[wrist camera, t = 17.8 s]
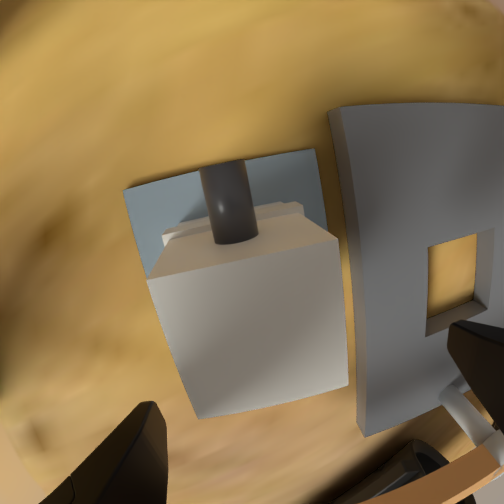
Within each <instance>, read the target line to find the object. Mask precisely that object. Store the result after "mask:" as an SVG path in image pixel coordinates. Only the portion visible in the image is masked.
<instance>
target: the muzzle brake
mask: <svg viewBox="0 0 504 504" xmlns="http://www.w3.org/2000/svg"><path fill="white" fill-rule="evenodd" d="M447 464H449V461H448V460H447V459H446V458H445V457H443V456H442V455H441V454H440V453H439V452H438V451H437V450H435V449H434V448H433V447H431V446H430V445H428V444H427V443H425V442H423V441H420V440H412V441H411V442H410V443H409V444H407V445H406V446H405V447H404V448H403V449H402V450H401V451H399V452H398V453H397V454H396V455H395V456H394V457H392V458H391V459H390V460H389V461H387V462H386V463H385V464H384V465H382V466H381V467H380V468H379V469H377V470H376V471H375V472H373V473H372V474H371V475H369V476H368V477H367V478H365V479H364V480H363V481H361V482H360V483H358V484H357V485H356V486H354V487H353V488H351V489H350V490H348V491H347V492H345V493H344V494H343V495H341V496H340V497H338V498H337V499H335V500H333V501H332V502H330V503H329V504H358V503H361V502H364V501H366V500H369V499H372V498H375V497H377V496H380V495H383V494H385V493H388V492H390V491H392V490H395V489H397V488H400V487H402V486H404V485H407V484H409V483H411V482H413V481H415V480H417V479H420V478H422V477H424V476H426V475H428V474H430V473H432V472H434V471H436V470H438V469H440V468H442V467H443V466H445V465H447ZM455 504H476V502H475V499H474V496H473V494H470V495H469V496H467V497H465V498H464V499H462V500H460V501H459V502H457V503H455Z"/></svg>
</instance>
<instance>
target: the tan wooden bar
mask: <svg viewBox="0 0 504 504" xmlns="http://www.w3.org/2000/svg"><path fill="white" fill-rule="evenodd" d="M503 474H504V435H503V433H502V432H501V430H500V429H499V430H497V431H496V432H494V433H493V434H492V435H491V436H490V437H489V438H488V439H487V440H486V441H485V442H484V443H483V444H481V445H480V446H478V447H476V448H475V449H473V450H472V451H470V452H468V453H467V454H465V455H463V456H461V457H460V458H458V459H456V460H454V461H453V462H451V463H449V464H447V465H445V466H443V467H442V468H440V469H438V470H436V471H434V472H432V473H430V474H428V475H426V476H424V477H422V478H420V479H417V480H415V481H413V482H411V483H409V484H407V485H404V486H402V487H400V488H397V489H395V490H392V491H390V492H388V493H385V494H383V495H380V496H377V497H375V498H372V499H369V500H366V501H364V502H361V503H358V504H455V503H457V502H459V501H460V500H462V499H464V498H465V497H467V496H469V495H470V494H472V493H473V492H475V491H477V490H478V489H480V488H481V487H483V486H484V485H486V484H487V483H489V482H490V481H493V480H495V479H497V478H499V477H500V476H501V475H503Z"/></svg>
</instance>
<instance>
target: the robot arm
mask: <svg viewBox="0 0 504 504" xmlns="http://www.w3.org/2000/svg"><path fill="white" fill-rule="evenodd" d="M447 350H448V352H449V354H450V356H451V357H452V359H453V360H454V362H455V364H456V365H457V367H458V369H459V370H460V372H461V374H462V375H463V377H464V379H465V380H466V382H467V384H468V385H469V387H470V388H471V390H472V391H473V392H474V394H475V395H476V396H477V398H478V399H479V401H480V402H481V403H482V405H483V406H484V407H485V409H486V410H487V412H488V413H489V414H490V416H491V417H492V419H493V420H494V424H493V426H492V427H493V428H494V429H495V430H496V431H497V430H499V429H500V430H501V432H502V433H503V435H504V328H501V327H496V326H491V325H486V324H482V323H477V322H472V321H468V320H463V319H459V320H457V321H455V322H452V323H451V324H450V326H449V330H448V338H447ZM167 484H168V452H167V427H166V422H165V420H164V418H163V416H162V414H161V412H160V410H159V408H158V406H157V404H156V403H155V402H154V401H145V402H141V403H139V404H138V405H137V406H136V407H135V408H134V409H133V410H132V412H131V413H130V414H129V415H128V416H127V417H126V418H125V419H124V420H123V421H122V422H121V423H120V424H119V425H118V426H117V427H116V428H115V429H114V430H113V431H112V432H111V433H110V434H109V435H108V437H107V438H106V439H105V440H104V441H103V442H102V443H101V444H100V445H99V446H98V447H97V448H96V449H95V450H94V451H93V452H92V453H91V454H90V455H89V456H88V457H87V458H86V459H85V460H84V461H83V462H82V463H81V464H80V465H79V466H78V467H77V468H76V469H75V470H74V471H73V472H72V473H71V475H70V476H68V477H67V478H66V479H65V480H64V481H63V482H62V483H61V484H60V485H59V486H58V487H57V488H56V489H55V490H54V491H53V492H52V493H51V494H50V495H48V496H47V497H46V498H45V499H44V500H43V501H41V502H40V503H39V504H166V500H167Z"/></svg>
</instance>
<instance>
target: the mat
mask: <svg viewBox="0 0 504 504" xmlns="http://www.w3.org/2000/svg"><path fill="white" fill-rule="evenodd" d="M245 165H246V170H247V175H248V180H249V185H250V190H251V195H252V201H253V206H254V207H255V206H259V205H264V204H269V203H274V202H280V201H281V202H282V203H289V202H295V201H296V202H298V203H300V204H302V205H303V209H304V215H305V217H306V218H307V219H309V220H310V221H312V222H314V223H315V224H317V225H318V226H320V227H321V228H323V229H324V230H326V231H327V232H328V227H327V220H326V213H325V207H324V200H323V194H322V188H321V181H320V176H319V170H318V164H317V158H316V153H315V148H314V149H307V150H301V151H295V152H289V153H283V154H277V155H272V156H267V157H261V158H256V159H251V160H246V161H245ZM123 194H124V198H125V202H126V206H127V210H128V214H129V218H130V222H131V225H132V229H133V233H134V236H135V240H136V244H137V247H138V250H139V254H140V257H141V261H142V264H143V267H144V271H145V274H146V277H147V278H148V276H149V274H150V273H151V271H152V269H153V267H154V265H155V264H156V262H157V260H158V258H159V256H160V255H161V253H162V251H163V249H164V248H165V247H164V243H163V239H162V234H163V233H164V231H165V230H166V229H168V228H172V227H176V226H177V225H178V224H179V223H181V222H185V221H190V220H194V219H198V218H203V217H207V216H209V215H208V211H207V206H206V202H205V197H204V192H203V188H202V183H201V178H200V173H199V171H195V172H191V173H187V174H183V175H179V176H175V177H171V178H167V179H163V180H159V181H155V182H151V183H147V184H144V185H140V186H136V187H133V188H129V189H126V190H123Z"/></svg>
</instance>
